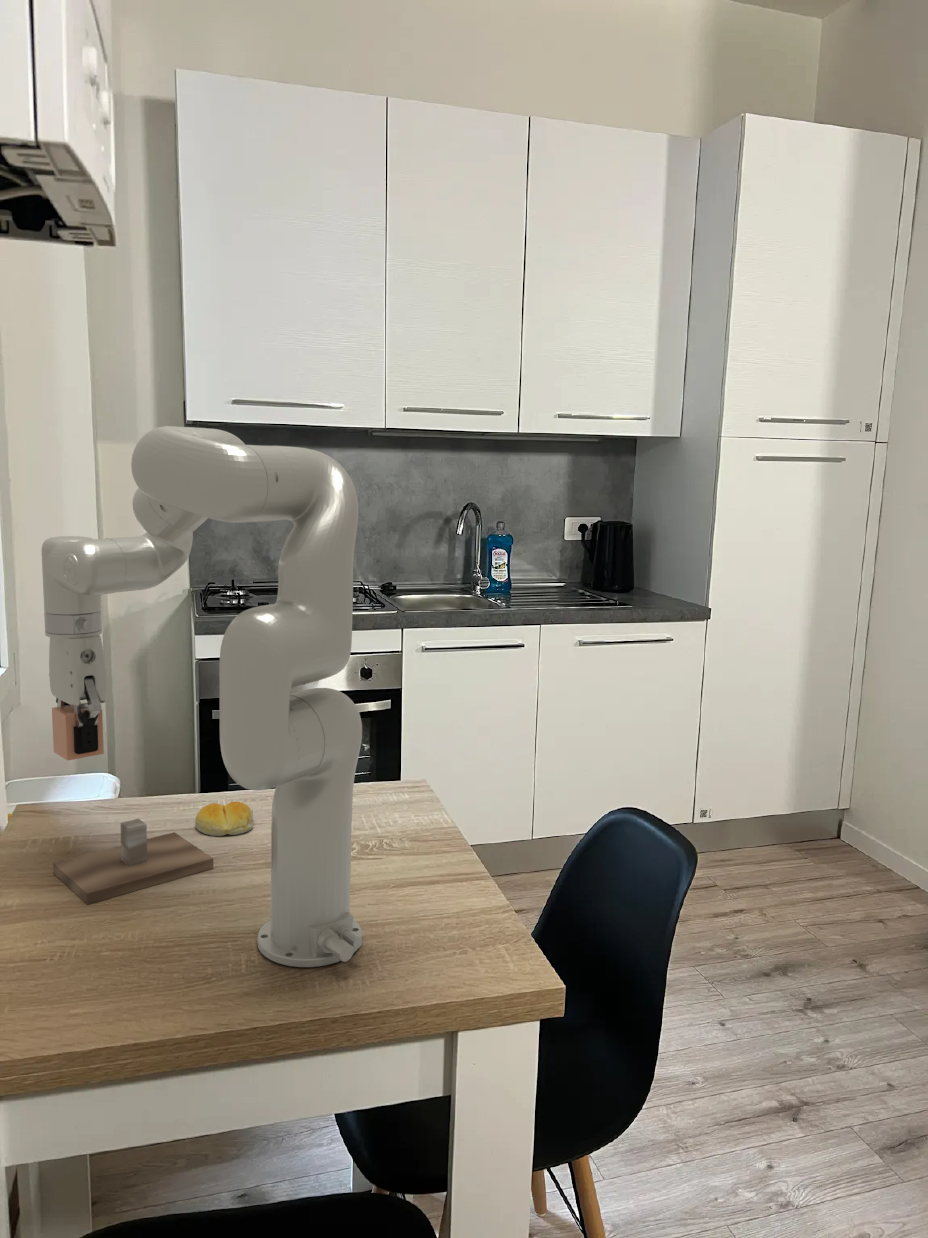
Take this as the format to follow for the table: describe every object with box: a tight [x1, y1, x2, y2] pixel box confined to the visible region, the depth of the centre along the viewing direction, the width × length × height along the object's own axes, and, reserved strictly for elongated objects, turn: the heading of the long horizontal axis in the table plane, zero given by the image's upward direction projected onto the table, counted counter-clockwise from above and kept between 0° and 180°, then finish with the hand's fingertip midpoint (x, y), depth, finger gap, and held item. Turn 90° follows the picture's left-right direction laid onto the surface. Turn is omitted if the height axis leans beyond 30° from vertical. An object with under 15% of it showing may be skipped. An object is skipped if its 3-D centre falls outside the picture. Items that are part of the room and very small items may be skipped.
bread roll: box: [194, 801, 254, 837], centre depth 151 cm, size 8×9×4 cm
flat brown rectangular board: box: [52, 818, 214, 905], centre depth 133 cm, size 12×18×7 cm, turn 133°
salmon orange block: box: [51, 702, 105, 762], centre depth 137 cm, size 5×5×7 cm
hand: (78, 746), depth 138 cm, fingers closed on salmon orange block, 5 cm apart
